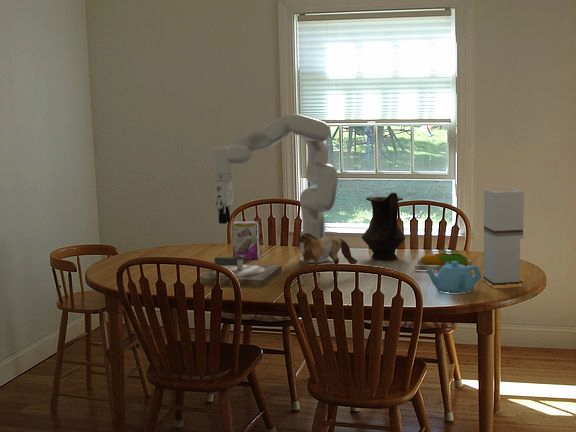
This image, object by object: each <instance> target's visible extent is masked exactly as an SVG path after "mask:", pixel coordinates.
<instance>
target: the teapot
mask: <svg viewBox="0 0 576 432" xmlns="http://www.w3.org/2000/svg"><path fill="white" fill-rule="evenodd" d="M470 271H471V273H470ZM472 271H473V273H474V275H472ZM426 273H427V274H428V277H429V278H430V280H431V282H432V284H433V285H434V287H435V288H436V290H437V291H438V290H439V291H442V292H449V293H462V292H468V291H471V290H473V289H474V287H475V284H477V283H478V282H479V281H480V280H481V279H482V278H483V277H482V275H481V272H480V269H479V266H478V265H477V264H475V265H472V266H469V267H466V266H465V265H461V264H458V261H451V264H449V262H445V265H444V266H443V267H442V268H441V269H440V271H439V272H437V275H436V274H435V272H433V271H432V270H431V269H427V272H426ZM439 291H438V292H439ZM471 292H472V291H471Z"/></svg>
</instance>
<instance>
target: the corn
mask: <svg viewBox="0 0 576 432" xmlns="http://www.w3.org/2000/svg"><path fill="white" fill-rule="evenodd" d="M419 259H421V261H422V262H424V263H427V264H426V265H440V266H444V265H445V262H449V264H451V261H458V264H461V265H465V266H467V264H468V261H469V260H468V259H467V257H466V256H465V255H464V254H462V253H461V252H458V251H457V252H456V251H452V250H435V251H433V253H432V254H424V255H423V256H422V257H420V258H419Z"/></svg>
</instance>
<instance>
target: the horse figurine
mask: <svg viewBox="0 0 576 432" xmlns="http://www.w3.org/2000/svg"><path fill="white" fill-rule="evenodd" d="M297 237H298V238H299V241H298V244H299V245H300V250H299V252H300V253H301V254H302V256H303V257H304V259H303V262H302V263H301V267H305V266H307V265H308V264H309V263H308V261H309V260H311V259H313V260H314V261H315V263H314V264H315V266H316V265H318V264H319V258H320V257H322V256H325V255H327V254H329V256H330V257H329V259H331V260H332V261H333V264H334V265H335V264H338V265H339V262H340V259H339V257H338V253H339V251H340V250H341V254H342V255H343V258H344V259H346V260H347V262H348V263H349V265H351V264H354V265H357V262H359V260H357V259H355V258H354V257H353V256H352V254H351V248H350V246H349V244H348V243H347V242H346V241H345V240H344V239H342V238H340V237H337V236H334V235H330V234H328V235H325V236H324V237H322V238H321V239H317V238H316V237H314V236H312V235H311V234H309V233H305V234H303V233H302V235H298V236H297ZM305 268H306V267H305ZM303 275H304V274H303ZM303 275H302V276H301V275H300V278H299V280H300V279H301V280H300V281H301V284H302V285H303V286H304V284H305V282H304V280H303V279H304V277H303ZM338 277H339V272H337V278H338ZM317 280H318V284H317V285H320V283H321V273H320V272H319V273H318V272H317Z"/></svg>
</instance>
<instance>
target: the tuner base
mask: <svg viewBox="0 0 576 432" xmlns="http://www.w3.org/2000/svg"><path fill="white" fill-rule="evenodd" d="M221 266H224V267H226V268H227V269H229V270H230V271H232V272H233V273H234V274H235V276H236V277H237V279H238V281H239V283H240V285H241V286H242V287H265V286H266V285H267V284H268V283H270V282H271V281H272V280H273V279H274V278H276V277H277V276H278V275H279V274H281V271H283V270H282V265H280V264H278V265H277V264H274V265H273V264H244V263H243V270H237V266H227V265H221ZM199 276H200V279H201V282H202V283H203V284H202V285H204V286H205V285H207V286H208V285H210V286H212V285H214V286H216V285H215V283H216V272H215V271H212V270H209V269H208V270H207V271H205V272H204V273H202V274H201V275H199ZM219 286H233V285H232V283H231V281H230V279H229V278H228V277H226V276H225V275H223V274H221V273H220V285H219ZM241 286H240V287H241Z"/></svg>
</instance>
